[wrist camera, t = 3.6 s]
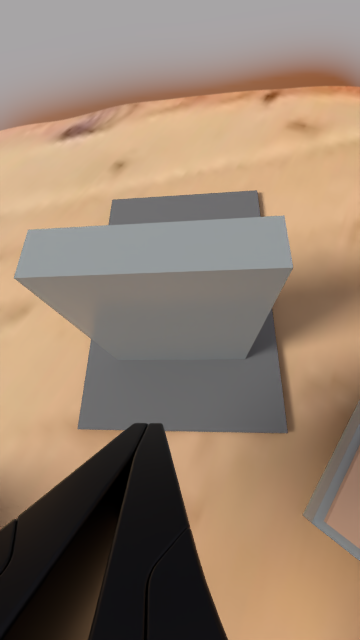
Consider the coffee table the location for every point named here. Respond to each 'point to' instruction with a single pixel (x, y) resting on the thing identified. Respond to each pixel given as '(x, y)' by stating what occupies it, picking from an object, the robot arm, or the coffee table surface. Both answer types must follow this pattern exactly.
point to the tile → (162, 283)
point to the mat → (187, 375)
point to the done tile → (340, 491)
